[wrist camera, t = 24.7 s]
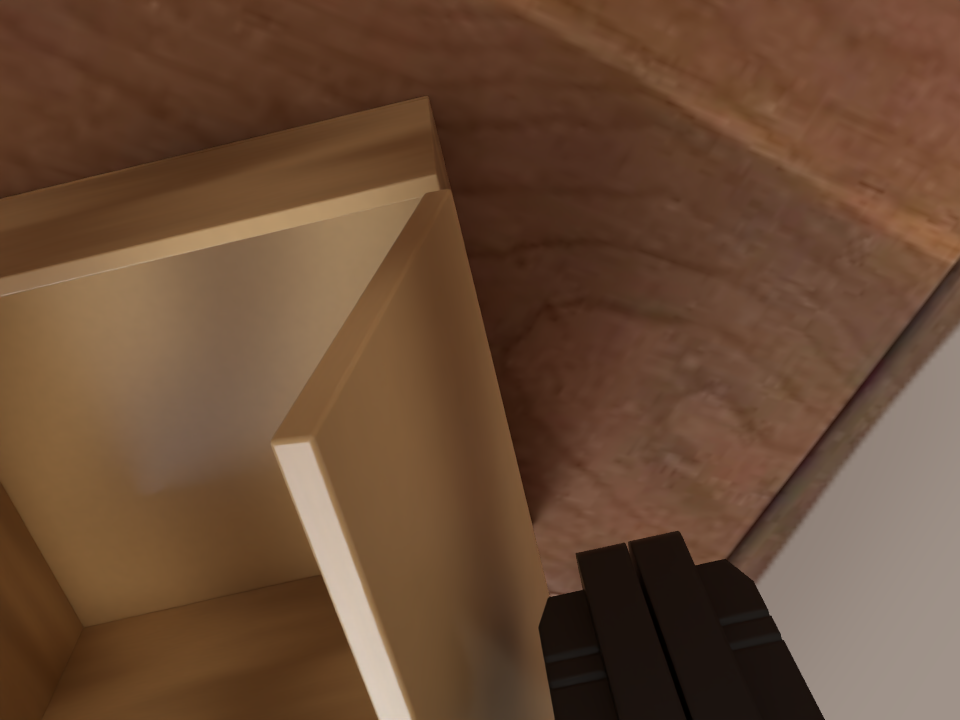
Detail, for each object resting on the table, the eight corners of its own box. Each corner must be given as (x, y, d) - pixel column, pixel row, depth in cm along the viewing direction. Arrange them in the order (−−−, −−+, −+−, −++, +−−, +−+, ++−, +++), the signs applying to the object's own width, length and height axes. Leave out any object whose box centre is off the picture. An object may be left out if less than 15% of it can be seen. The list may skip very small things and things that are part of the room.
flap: (424, 192, 12) (451, 187, 12) (565, 744, 18) (586, 744, 17) (266, 441, 7) (313, 436, 7) (536, 1127, 12) (564, 1129, 12)
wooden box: (428, 94, 19) (436, 173, 13) (533, 528, 24) (571, 718, 18) (-146, 233, 19) (-378, 367, 13) (81, 629, 24) (-18, 845, 19)
